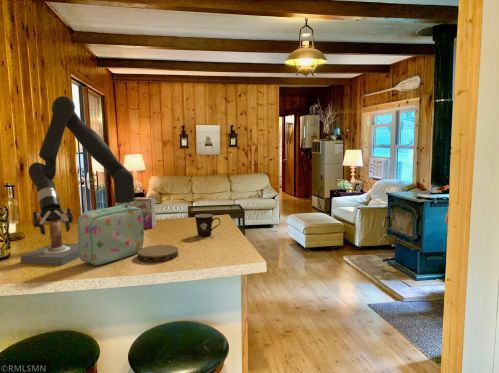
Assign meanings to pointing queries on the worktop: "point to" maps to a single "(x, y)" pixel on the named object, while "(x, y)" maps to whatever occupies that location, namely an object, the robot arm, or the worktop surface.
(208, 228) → the coffee mug
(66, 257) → the plate
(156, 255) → the wood slice
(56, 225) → the handle
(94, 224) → the lunch box
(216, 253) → the worktop surface
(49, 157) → the robot arm
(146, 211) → the candy bar box
